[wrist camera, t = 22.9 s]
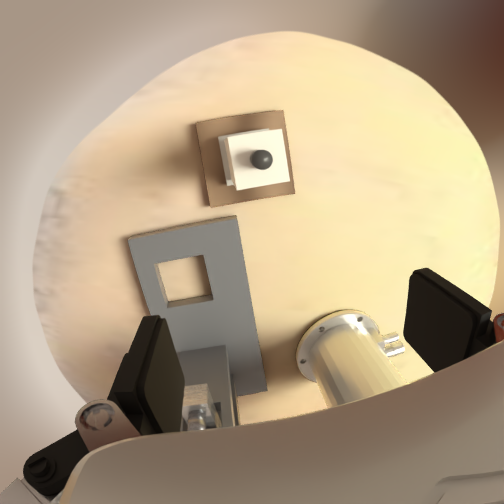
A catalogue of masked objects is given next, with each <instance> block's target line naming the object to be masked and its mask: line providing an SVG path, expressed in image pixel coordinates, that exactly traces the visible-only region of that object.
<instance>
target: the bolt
mask: <svg viewBox="0 0 504 504" xmlns="http://www.w3.org/2000/svg"><path fill="white" fill-rule="evenodd" d="M182 416H183V418H184V420H185V422H186V424H187V426H188V430H187V431H194V430H204V429H211V428H219V427H222V423H221V420H220V418H219V415H218V412H217V410H216V407H215V404H214V402H213V399H212V396H211V394H210V391H209V388H208V385H207V383H206V384H199V385H191V386H185V389H184V398H183V407H182Z"/></svg>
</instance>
